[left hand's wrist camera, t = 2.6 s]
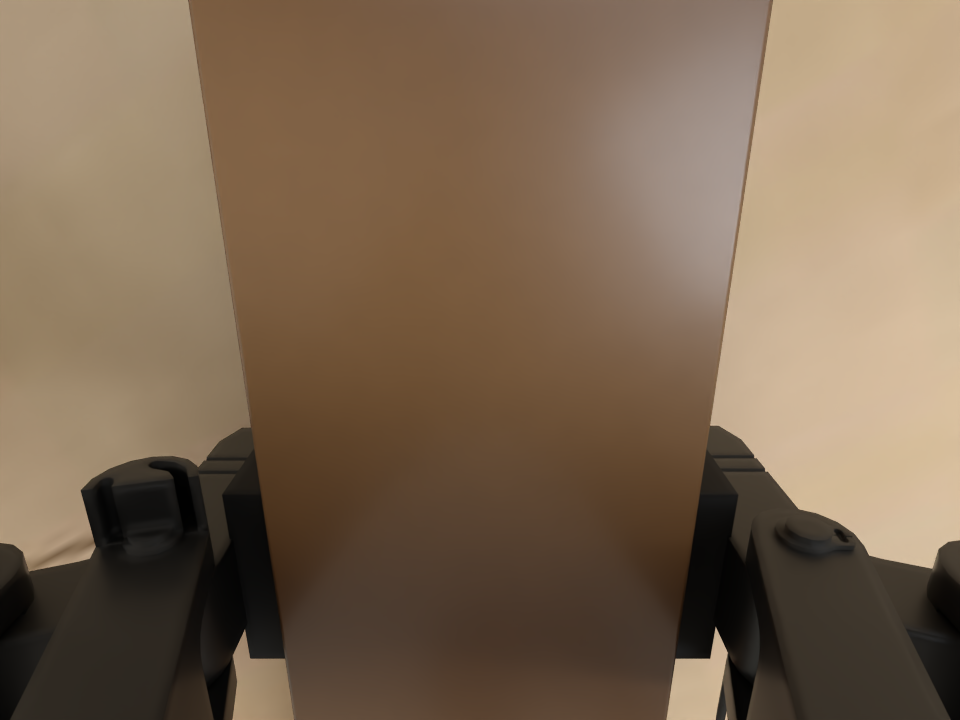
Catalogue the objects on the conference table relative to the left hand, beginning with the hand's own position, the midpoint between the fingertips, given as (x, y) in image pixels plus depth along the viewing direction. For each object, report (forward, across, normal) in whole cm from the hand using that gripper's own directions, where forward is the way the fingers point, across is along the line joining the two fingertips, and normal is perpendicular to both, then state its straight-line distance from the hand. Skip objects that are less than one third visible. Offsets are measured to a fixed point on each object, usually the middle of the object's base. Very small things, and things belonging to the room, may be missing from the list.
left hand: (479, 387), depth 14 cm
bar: (+1, 0, -20) cm, 20 cm away
